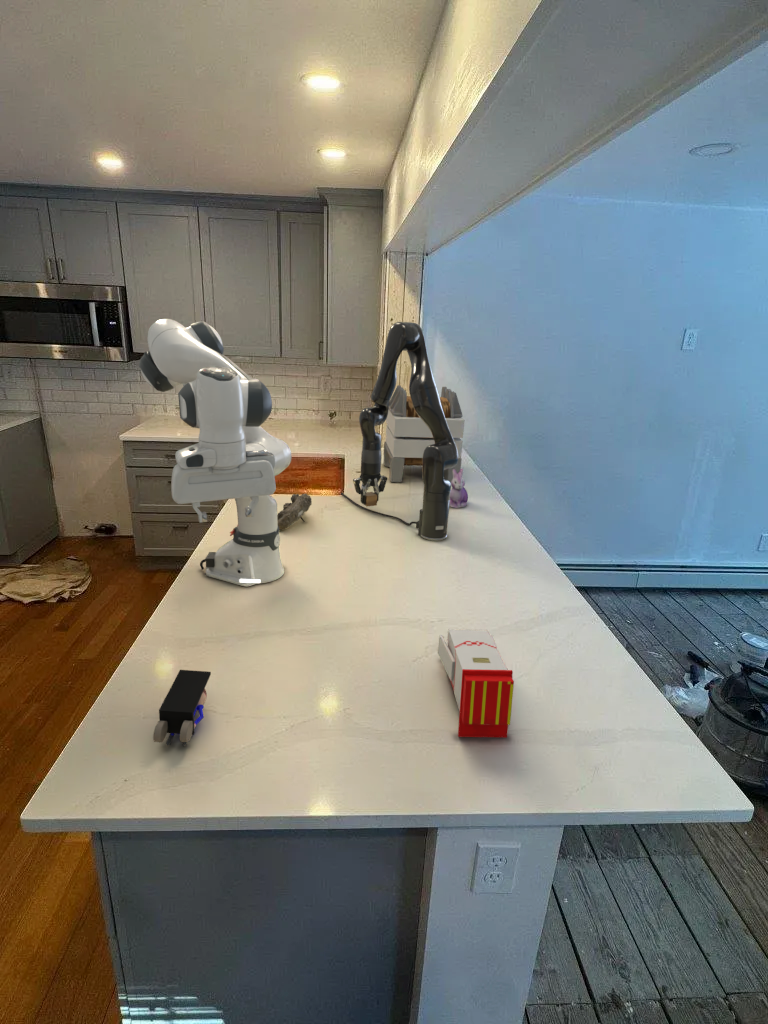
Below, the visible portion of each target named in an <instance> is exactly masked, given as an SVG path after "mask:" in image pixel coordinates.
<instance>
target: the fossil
mask: <svg viewBox="0 0 768 1024" xmlns="http://www.w3.org/2000/svg"><path fill="white" fill-rule="evenodd" d="M290 501H291V502H285V503H284V504H283V509H282V510H281V511H279V512H277V518H278V526H279V531H283V530H286V529H288V528H290V527H291V526H292V525H294V524H295V523H296V522H297V521H298V520H300V519H301V520H302V522H303V523H305V522H306V521H305V519H304V518H303V515H304V514H305V513H307V512H308V511H309V509H310V507H311V506H312V502H313V501H312V497H311V496H310V495H309V494H307V493H302V494H301V495H300V494H299V493H297V494H295V493H293V494H292V495H291V497H290Z"/></svg>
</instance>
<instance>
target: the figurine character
mask: <svg viewBox="0 0 768 1024" xmlns="http://www.w3.org/2000/svg"><path fill="white" fill-rule="evenodd" d="M211 675H212V673H211V671H208V670H207V671H204V670H190V669H189V670H188V669H179V670H178V673H177V675H176V676H175V679H174V681H173V682H172V684H171V686H170V687H169V690H168V692H167V694H166V696H165V697H164V700H163V701H162V703H161V705H160V707H159V709H158V717H159V718H158V719H159V720H158V721H157V722H156V724H155V727H154V729H153V734H152V735H153V737H152V738H153V740H152V741H153V742H155V743H163V742H164V741H165V739H166V737H167V734H169V735H168V737H167V740H166V743H165V744H166V746H167V747H168V746H170V745H171V744H172V742H173V739H174V737H175V735H179V741H180V742H181V744H182V745H181V746H182V747H185V746H186V745H187V744H188V743H189V742H190V740H191V738H192V736H194V735H195V733H196V732H195V728H196V727H197V725H198V724H199V723H200V722H201V721H202V720H203V719H204V717H205V716H204V711H203V710H204V707H205V706H204V704H205V703H206V701H207V698H208V695H207V690H206V686H207V684H208V682H209V679H210V677H211ZM197 711H198V715H199V716H198V717H197V718H196V719H195V716H196V713H197Z"/></svg>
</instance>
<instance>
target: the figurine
mask: <svg viewBox="0 0 768 1024" xmlns="http://www.w3.org/2000/svg"><path fill="white" fill-rule="evenodd" d="M463 474H464V468H461V469H460V471H459V473H457V472H456V470H455V469H453V479H452V482H451V493H450V505H449V508H454V509H455V508H456V509H459V508H464V507H466V506H467V504H468V500H469V495H468V491H467V489H466V487H465V484H466V483H465V479H464V477H463V476H464V475H463Z"/></svg>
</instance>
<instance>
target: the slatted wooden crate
mask: <svg viewBox="0 0 768 1024" xmlns="http://www.w3.org/2000/svg"><path fill="white" fill-rule="evenodd" d="M440 393H441V394H440V396H439V398H440V402H441V406H442V409H443V412H444V415H445V419H446V422H447V425H448V428H449V430H450V433H451V435H452V437H453V440H454V442H455V445H456V448H457V451H458V462H457V464H456V466H455V467H453V468H451V469H446V470H444V479H446V480H448V481H450V483H451V482H452V479H453V469H455V470H456V472H457V473H459V471H460V469H462V461H463V460H462V453H463V442H464V441H463V440H462V439H463V438H464V431H465V430H464V429H465V419H464V418H463V411H462V408H461V405H460V402H459V398H458V395H457V392H455V391H453V390H452V389H451V388H447V386H442V387H441V392H440ZM407 394H408V393H407V390H406V389H404V388H403V387H402V385H399V384H398V385H396V387H395V389H394V392H393V394H392V397H391V399H390V401H389V410H388V416H387V419H386V420H385V423H386V428H385V438H384V442H383V466H384V467H388V468H389V475H388V476H389V477H388V478H389V480H390V482H391V483H402V482H403V475H404V469H405V466H406V467H407V466H411V467H412V466H413V467H415V466H416V467H417V466H418V467H422V459H423V453H424V450H425V448H426V447H427V446H429V445H432V444H435V442H434V438H433V436H432V433H431V431H430V429H429V428H428V427H427V425H426V424H425V423H424V422H423V421H422V419H421V418H420V417H419V416H418V414H417V413H416V411H415V409H414V407H413V404H412V400H411V397H410V395H407Z"/></svg>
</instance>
